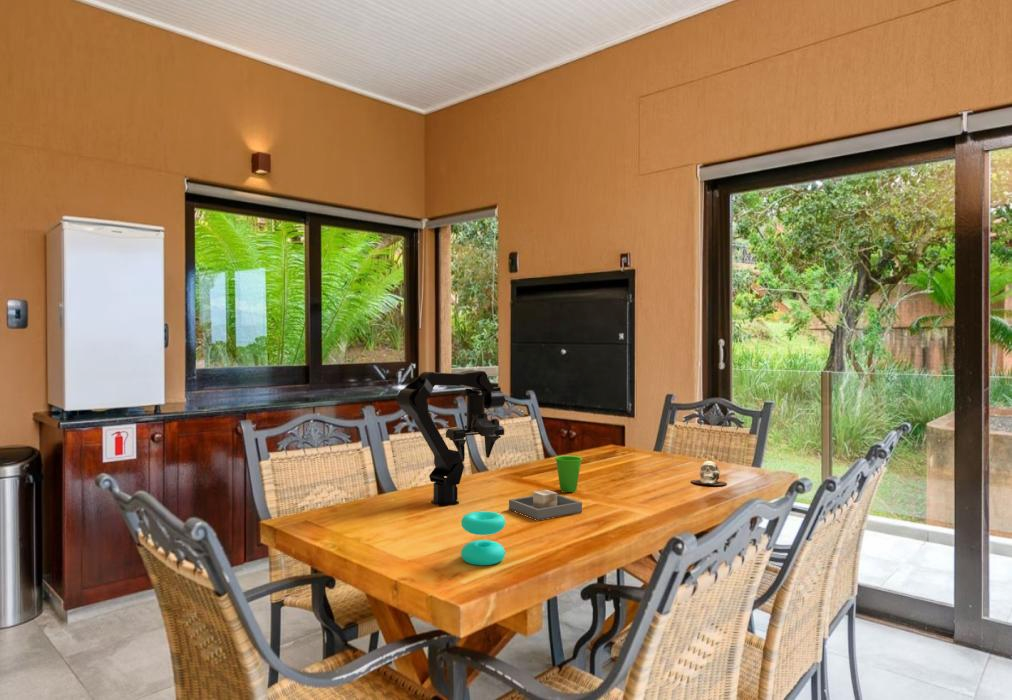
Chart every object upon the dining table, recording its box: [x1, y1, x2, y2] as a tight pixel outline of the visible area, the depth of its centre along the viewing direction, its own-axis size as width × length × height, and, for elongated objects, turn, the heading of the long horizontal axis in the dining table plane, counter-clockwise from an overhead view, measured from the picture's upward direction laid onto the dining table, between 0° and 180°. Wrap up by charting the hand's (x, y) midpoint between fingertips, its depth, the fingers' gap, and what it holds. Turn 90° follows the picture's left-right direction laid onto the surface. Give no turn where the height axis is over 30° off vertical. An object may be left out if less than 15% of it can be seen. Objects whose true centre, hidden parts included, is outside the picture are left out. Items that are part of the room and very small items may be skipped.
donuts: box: [460, 510, 506, 566], centre depth 146 cm, size 10×10×10 cm
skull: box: [690, 460, 728, 486], centre depth 226 cm, size 12×10×10 cm
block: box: [532, 489, 558, 509], centre depth 187 cm, size 5×5×5 cm
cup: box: [554, 455, 583, 493], centre depth 213 cm, size 9×9×11 cm
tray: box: [508, 494, 583, 521], centre depth 187 cm, size 16×14×3 cm
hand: (475, 459), depth 204 cm, fingers open, 9 cm apart
